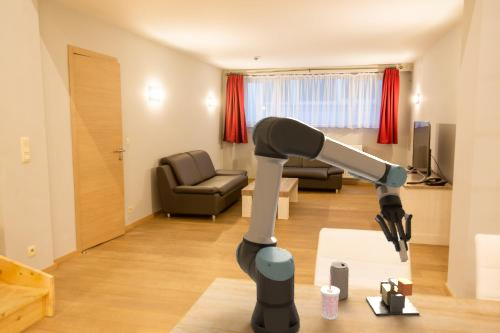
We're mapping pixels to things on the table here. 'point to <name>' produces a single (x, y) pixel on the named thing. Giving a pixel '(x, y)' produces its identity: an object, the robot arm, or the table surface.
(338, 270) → the beverage can
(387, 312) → the valve body
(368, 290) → the table surface
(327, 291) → the beverage cup
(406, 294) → the valve lever
